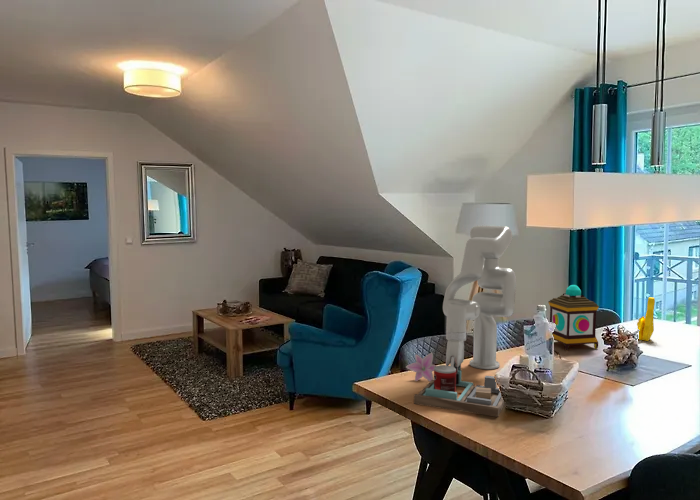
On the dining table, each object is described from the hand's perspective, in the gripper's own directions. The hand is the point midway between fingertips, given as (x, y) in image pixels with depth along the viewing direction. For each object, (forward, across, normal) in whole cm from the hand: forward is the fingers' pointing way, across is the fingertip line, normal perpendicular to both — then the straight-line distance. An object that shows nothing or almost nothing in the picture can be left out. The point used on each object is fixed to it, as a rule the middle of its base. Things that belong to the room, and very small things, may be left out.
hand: (455, 382), depth 216 cm
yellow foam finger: (+1, -109, +70) cm, 129 cm away
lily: (+1, -2, -14) cm, 14 cm away
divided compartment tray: (+1, +14, +6) cm, 16 cm away
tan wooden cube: (+1, +15, +14) cm, 21 cm away
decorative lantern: (+1, -82, +37) cm, 90 cm away
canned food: (+1, +16, 0) cm, 16 cm away
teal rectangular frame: (+1, +10, 0) cm, 10 cm away
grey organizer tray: (+1, +12, +14) cm, 18 cm away
